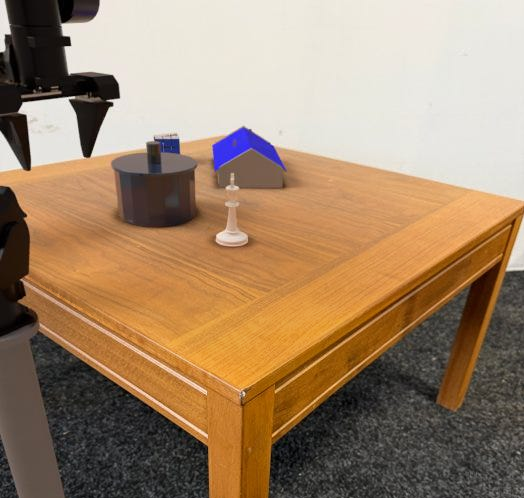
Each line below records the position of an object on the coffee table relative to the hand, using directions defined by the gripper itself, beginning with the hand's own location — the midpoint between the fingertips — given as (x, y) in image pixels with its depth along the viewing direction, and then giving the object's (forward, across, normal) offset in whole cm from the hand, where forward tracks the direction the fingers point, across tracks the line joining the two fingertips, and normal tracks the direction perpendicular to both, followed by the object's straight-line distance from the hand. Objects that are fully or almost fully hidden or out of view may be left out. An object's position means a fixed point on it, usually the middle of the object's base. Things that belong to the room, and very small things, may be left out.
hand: (58, 163), depth 72 cm
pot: (+12, -19, -2) cm, 23 cm away
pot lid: (+4, -19, -2) cm, 20 cm away
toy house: (+12, -50, -7) cm, 52 cm away
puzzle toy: (+12, -45, -25) cm, 53 cm away
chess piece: (+12, -18, +15) cm, 26 cm away
